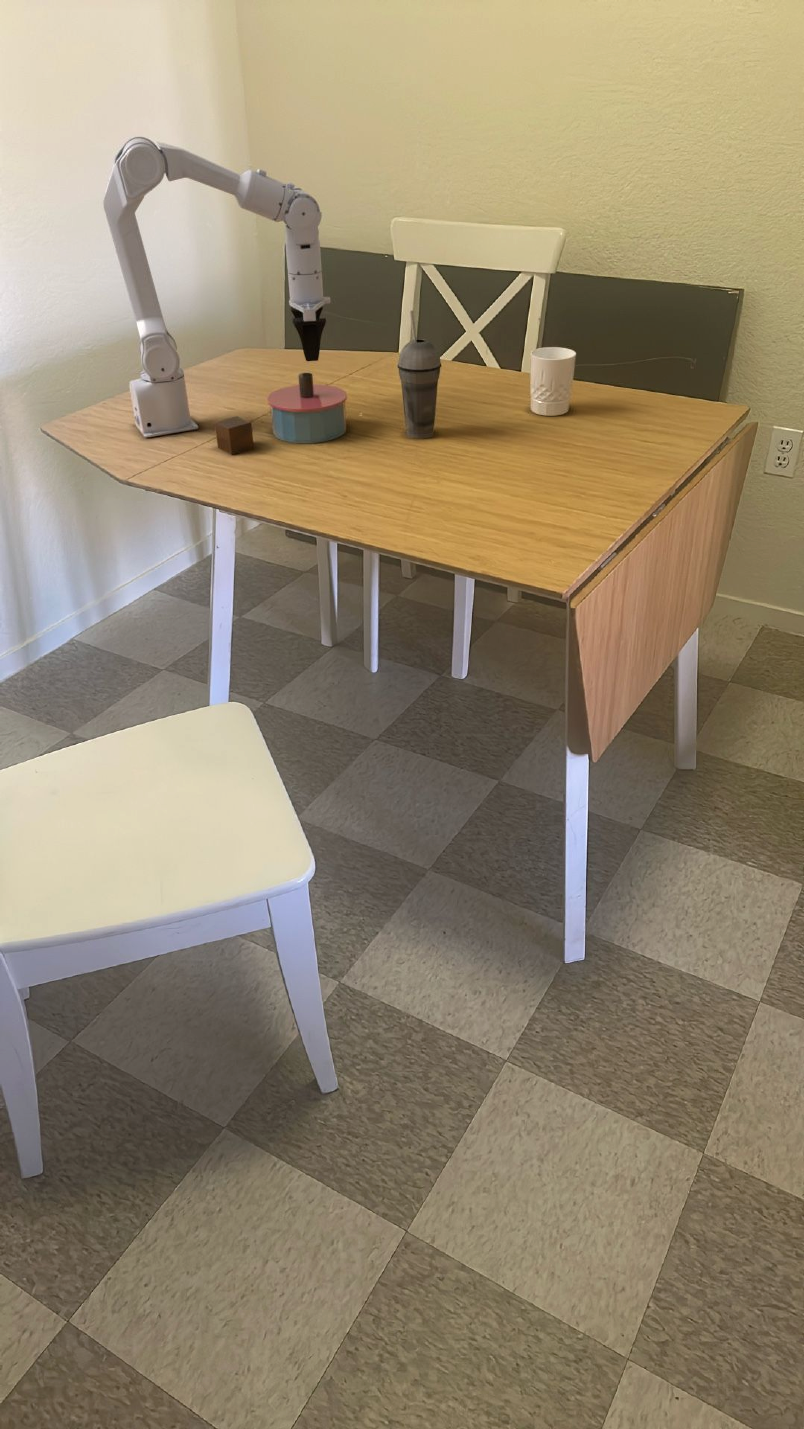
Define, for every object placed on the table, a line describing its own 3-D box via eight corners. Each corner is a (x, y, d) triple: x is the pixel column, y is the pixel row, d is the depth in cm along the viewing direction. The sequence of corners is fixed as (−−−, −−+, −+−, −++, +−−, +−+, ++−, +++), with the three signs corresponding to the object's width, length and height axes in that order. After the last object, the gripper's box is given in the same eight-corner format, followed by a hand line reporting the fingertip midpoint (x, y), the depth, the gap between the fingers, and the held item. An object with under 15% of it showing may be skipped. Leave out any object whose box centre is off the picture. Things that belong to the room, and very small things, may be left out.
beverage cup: (437, 442, 163) (437, 317, 151) (395, 440, 164) (391, 316, 153) (444, 428, 169) (445, 306, 157) (403, 426, 170) (401, 305, 159)
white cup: (570, 403, 178) (575, 347, 172) (572, 417, 172) (577, 359, 166) (527, 403, 179) (530, 346, 173) (527, 417, 172) (530, 359, 167)
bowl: (301, 449, 162) (298, 416, 159) (259, 430, 170) (256, 399, 167) (360, 431, 169) (359, 399, 165) (317, 414, 177) (315, 383, 173)
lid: (298, 421, 159) (295, 392, 156) (252, 402, 167) (249, 374, 165) (363, 402, 166) (362, 374, 163) (316, 385, 174) (314, 358, 172)
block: (231, 454, 161) (228, 428, 158) (217, 448, 163) (214, 422, 161) (254, 448, 163) (251, 422, 160) (240, 441, 166) (236, 416, 163)
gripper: (331, 279, 158) (336, 364, 166) (325, 262, 170) (330, 342, 178) (288, 281, 158) (295, 367, 165) (285, 264, 169) (291, 344, 177)
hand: (310, 354), depth 172 cm, fingers open, 7 cm apart
